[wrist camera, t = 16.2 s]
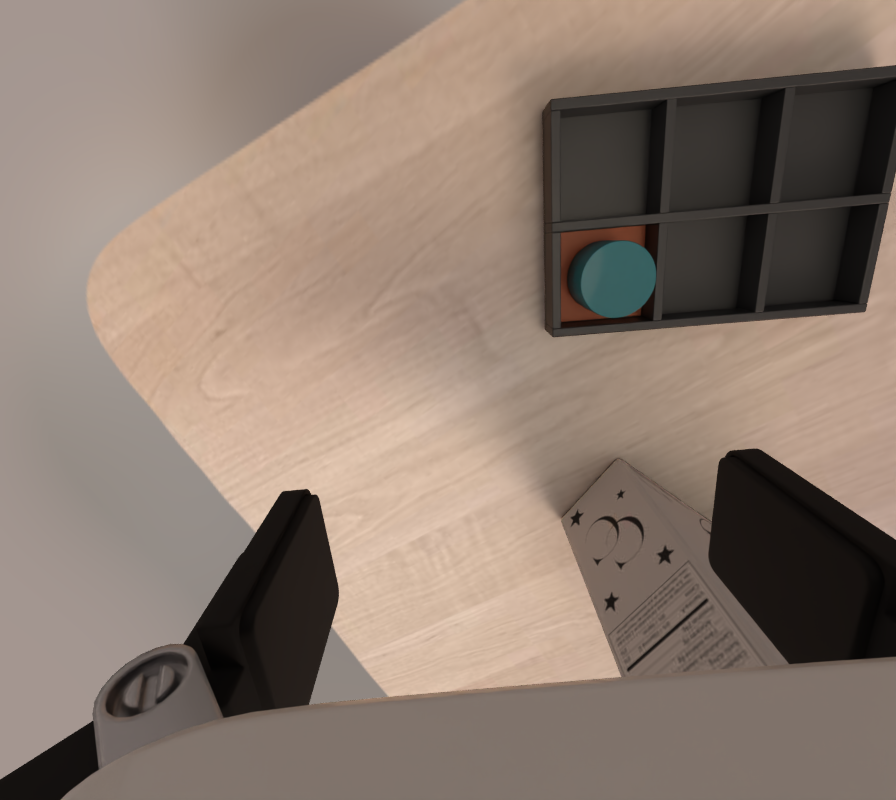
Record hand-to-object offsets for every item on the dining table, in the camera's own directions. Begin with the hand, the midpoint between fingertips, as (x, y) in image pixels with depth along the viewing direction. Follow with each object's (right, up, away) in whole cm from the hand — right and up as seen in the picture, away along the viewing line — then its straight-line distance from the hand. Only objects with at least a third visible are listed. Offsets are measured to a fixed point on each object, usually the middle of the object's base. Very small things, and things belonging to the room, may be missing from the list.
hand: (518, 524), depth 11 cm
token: (+9, +12, +22) cm, 26 cm away
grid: (+16, +16, +21) cm, 31 cm away
